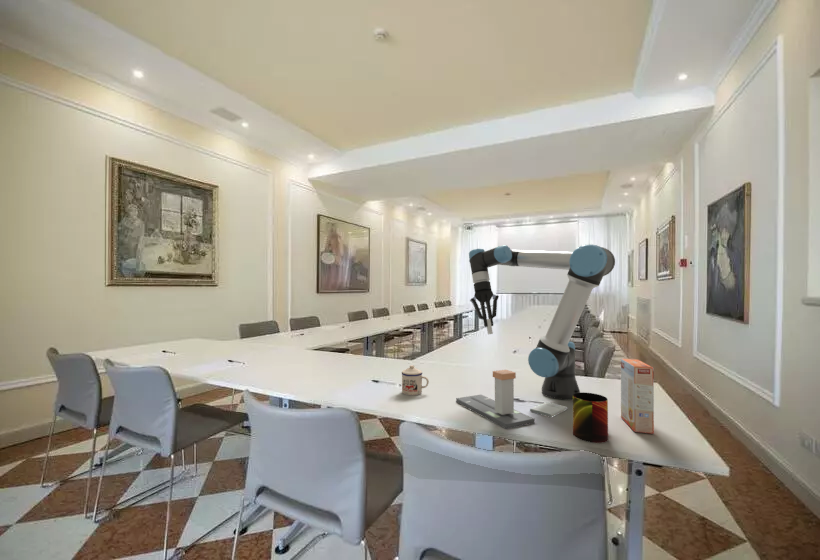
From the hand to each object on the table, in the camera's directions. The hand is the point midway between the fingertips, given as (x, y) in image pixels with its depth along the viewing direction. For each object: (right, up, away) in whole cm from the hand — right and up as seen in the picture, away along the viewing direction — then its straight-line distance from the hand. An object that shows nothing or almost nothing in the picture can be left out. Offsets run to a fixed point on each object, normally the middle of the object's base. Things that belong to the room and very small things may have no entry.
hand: (490, 333), depth 159 cm
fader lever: (-3, -22, -33) cm, 40 cm away
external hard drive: (+16, -25, -25) cm, 39 cm away
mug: (+21, -24, -47) cm, 56 cm away
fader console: (-5, -25, -27) cm, 37 cm away
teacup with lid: (-33, -25, -3) cm, 42 cm away
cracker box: (+40, -25, -40) cm, 61 cm away
